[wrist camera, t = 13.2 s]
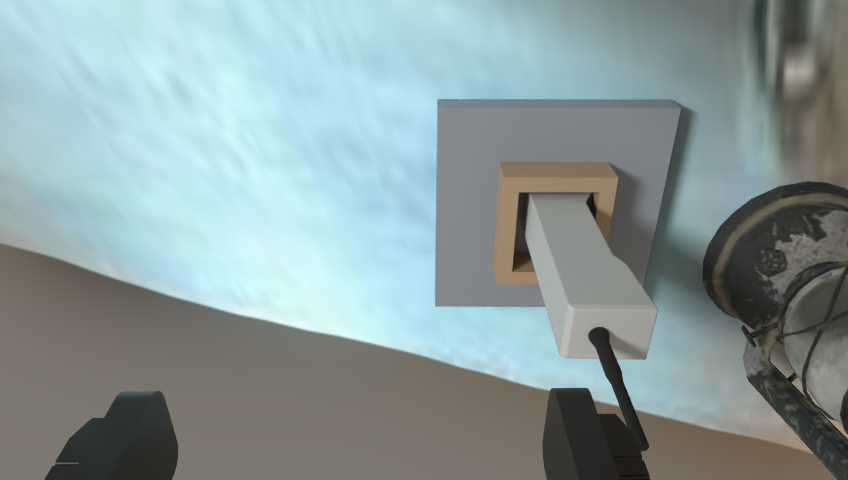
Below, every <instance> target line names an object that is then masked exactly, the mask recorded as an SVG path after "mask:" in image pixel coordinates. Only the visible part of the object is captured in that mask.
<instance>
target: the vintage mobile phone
mask: <svg viewBox="0 0 848 480" xmlns="http://www.w3.org/2000/svg"><path fill="white" fill-rule="evenodd" d="M591 196H592V192H526V196H525V205H524V214H523V223H522V228H523V231H524V235H525V238H526V241H527V245H528V248H529V252H530V255H531V259H532V262H533V265H534V269H535V272H536V276H537V279H538V282H539V286H540V289H541V293H542V296H543V300H544V303H545V306H546V310H547V313H548V317H549V320H550V324H551V327H552V330H553V334H554V337H555V341H556V344H557V348H558V351H559V354H560V356H562V357H564V358H576V359H600V362H601V364H602V367H603V370H604V372H605V375H606V377H607V379H608V380H609V382H610V383H611V385H612V387H613V390H614V392H615V395H616V398H617V400H618V403H619V406H620V408H621V411H622V413H623V416H624V419H625V421H626V424H627V427H628V428H629V429H630V431H631V432H632V433H633V434H634V437H635V439H636V442H637V445H638V447H639V450H640V452H642V451H646V450H647V449H648V448H649V444H648V442H647V439H646V437H645V435H644V432H643V429H642V427H641V425H640V422H639V420H638V417H637V415H636V412H635V410H634V407H633V405H632V402H631V400H630V397H629V395H628V392H627V390H626V388H625V385H624V383H623V378H622V372H621V369H620V367H619V364H618V362H617V359H643V360H645V359H646V357H647V353H648V349H649V345H650V341H651V337H652V333H653V329H654V325H655V321H656V317H657V313H658V309H657V307H656V305H655V304H654V303H653V301H652V300H651V298H650V297H649V296H648V294H647V293H646V291H645V290H644V288H643V287H642V286H641V284H640V283H639V281H638V280H637V279H636V277H635V276H634V274H633V273H632V272H631V270H630V269H629V267H628V266H627V264H625V263H624V262H623V261H621V260H620V259H618V258H617V257H616V256H614V255H613V254H612V252H611V250H610V248H609V246H608V244H607V242H606V241H605V239H604V237H603V235H602V233H601V231H600V229H599V227H598V225H597V223H596V221H595V219H594V217H593V215H592V213H591V212H590V210H589V208H590V202H591Z"/></svg>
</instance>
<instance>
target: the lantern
mask: <svg viewBox="0 0 848 480" xmlns="http://www.w3.org/2000/svg"><path fill="white" fill-rule="evenodd" d="M703 282H704V285H705V287H706V290H707V293H708V295H709V297H710V298H711V299H712V301H713V302H714V303H715V304H716V306H717V307H718V308H720V309H721V310H722V311H723V312H725V313H726V314H728V315H730V316H732V317H734V318H737V319H739V320H741V321H742V322H744V323H745V324H747V325H748V326H750V327H751V328H753V329H754V330H753V332H752V333H749V331H748V330H747V329H746V328H745V326H744V325H743V326H742V328H741V329H742V331H743V333H744V335H745V336H746V338H747V340H748V341H747V344H746V348H745V352H744V356H743V361H744V365H745V369H746V374H747V378H748V381H749V382H750V383H751V384H752V385H753V386H754V387H755V389H756V390H757V391H758V392H759V393H760V394H761V395H762V396H763V397H764V399H765V400H766V401H767V402H768V403H769V404H770V405H771V406H772V407H773V409H774V410H775V411H776V412H777V413H778V414H779V415H780V416H781V417H782V419H783V420H784V421H785V422H786V423H787V424H788V425H789V426H790V427H791V429H792V430H793V431H794V432H795V433H796V434H797V435H798V436H799V437H800V439H801V440H802V441H803V442H804V443H805V444H806V445H807V446H808V447H809V449H810V450H811V451H812V452H813V453H814V454H815V455H816V456H817V457H818V459H819V460H820V461H821V462H822V463H823V464H824V465H825V466H826V467H827V468H828V469H829V471H830V472H831V473H832V474H833V475H834V476H835V477H836V478H837V480H848V439H847V438H846V437H845V436H844V435H843V434H842V433H841V432H840V431H839V430H838V429H837V428H836V427H835V426H834V425H833V424H832V423H831V422H830V421H829V420H828V419H827V418H829V419H832V420H835V421H838V422H839V423H840V424H841V425H843V428H844V430H845V432H846V433H847V434H848V190H847V189H845V188H842V187H839V186H835V185H832V184H829V183H822V182H809V181H808V182H802V183H797V184H791V185H785V186H780V187H777V188H775V189H773V190H771V191H768V192H766V193H764V194H762V195H759V196H757V197H755V198H753V199H751V200H750V201H748V202H747V203H746V204H744V205H743V206H742V207H740V208H739V209H738V210H737V211H735V212H734V213H733V214H732V215H731V216H730V217H729V218H728V219H727V220H726V221H725V222H724V223H723V224H722V225H721V226H720V227H719V229H718V230H717V232H716V234H715V235H714V237H713V239H712V240H711V242H710V244H709V246H708V249H707V252H706V255H705V258H704V260H703ZM779 338H782V339H783V342H782V341H781V340H780V339H779ZM777 341H778V342H779V343H780V344H781V345H782V346H784V351H785V356H786V358H787V360H788V362H789V364H790V366H791V368H792V370H793V371H794V372H795V373H793V374H792V375H791V376H790V377H789V378H786V377H785V376H784V375H783V374H782V373H781V372H780V371H779V370H778V369H777V368H776V367H775V366H774V365H773V364H772V363H771V362H770V354H771V350H772V349H773V347H774V345H775V344H776V342H777ZM797 377H798V378H799V379H800V380H801V382H802V386H803V392H804V394H805V396H806V397H807V398H806V397H805V396H804V395H803V394H802V393H801V392H800V391H799V390H798V389H797V388H796V387H795V386H794V385H793V384H792V383H791V382H792V381H794V380H795V379H796V378H797ZM806 388H807V389H806ZM807 390H808V391H809V392H810V394H811V395H812V396H813V398H814V399H815V400H816V402H817V403H818V404H819V406H820V407H821V408H822V409H823V410H822V409H821V408H820V407H818V406H817V405H816V404H814V402H813V401H812V399H811V397H810V396H809V394H808V393H807ZM823 414H824V415H825V416H826V417H827V418H826V417H825V416H824V415H823Z"/></svg>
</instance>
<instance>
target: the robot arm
mask: <svg viewBox="0 0 848 480" xmlns="http://www.w3.org/2000/svg"><path fill="white" fill-rule="evenodd" d="M177 460H178V443H177V439H176V436H175V432H174V429H173V425H172V422H171V419H170V415H169V411H168V408H167V405H166V401H165V399H164V395H163V394H162V393H161V392H160V391H129V392H128V391H127V392H121V393H119V394H118V395H117V397H116V398H115V400H114V401H113V403H112V405H111V407H110V409H109V410H108V412H107V414H106V416H105V418H92V419H91V420H90V421H88V422H87V423H86V424H85V425H84V426H83V427H82V428H81V429H79V430H78V431H77V432H76V433H75V434H74V435H73V436H72V437H70V438H69V440H68V442H67V443H66V445H65V447H64V448H63V450H62V452H61V453H60V455H59V456H58V458H57V460H56V464H55V466H52V468H51V470H50V471H49V473H48V475H47V476H46V478H45V480H172V478H173V476H174V473H175V470H176V465H177ZM543 461H544V468H545V473H546V477H547V480H650V478H649V473H648V470H647V468H646V465H645V463H644V461H642V455H641V452H640V450H639V447H638V445H637V442H636V439H635V437H634V434H633V433H632V432H631V431H630V429H629V428H628V427H627V426H626V425H625V424H624V423H623V422H622V421H621V420H620V418H619V417H618V416H617V415H616V414H598V413H597V411H596V408H595V405H594V402H593V399H592V396H591V393H590V391H589V390H588V389H587V388H552V389H551V390H550V393H549V399H548V406H547V414H546V421H545V428H544V435H543Z"/></svg>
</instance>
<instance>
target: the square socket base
mask: <svg viewBox="0 0 848 480" xmlns="http://www.w3.org/2000/svg"><path fill="white" fill-rule="evenodd" d="M680 112H681V107H680V106H678V105H677V104H676V103H675V102H674V101H673V100H458V99H438V108H437V184H436V261H435V306H515V307H546V306H545V303H544V300H543V296H542V293H541V289H540V286H539V282H538V279H537V276H536V272H535V269H534V265H533V262H532V259H531V255H530V252H529V248H528V245H527V241H526V238H525V235H524V231H523V228H522V223H523V214H524V205H525V196H526V192H592V196H591V202H590V208H589V210H590V212H591V213H592V215H593V217H594V219H595V221H596V223H597V225H598V227H599V229H600V231H601V233H602V235H603V237H604V239H605V241H606V242H607V244H608V246H609V248H610V250H611V252H612V254H613V255H614V256H616V257H617V258H618V259H620V260H621V261H623V262H624V263H625V264H627V266H628V267H629V269H630V270H631V272H632V273H633V274H634V276H635V277H636V279H637V280H638V281H639V283H640V284H641V286H642V287H644V282H645V277H646V272H647V268H648V263H649V258H650V253H651V249H652V244H653V239H654V235H655V230H656V225H657V220H658V216H659V211H660V206H661V201H662V197H663V192H664V187H665V182H666V178H667V173H668V168H669V164H670V159H671V154H672V149H673V145H674V140H675V135H676V130H677V126H678V121H679V116H680Z"/></svg>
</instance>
